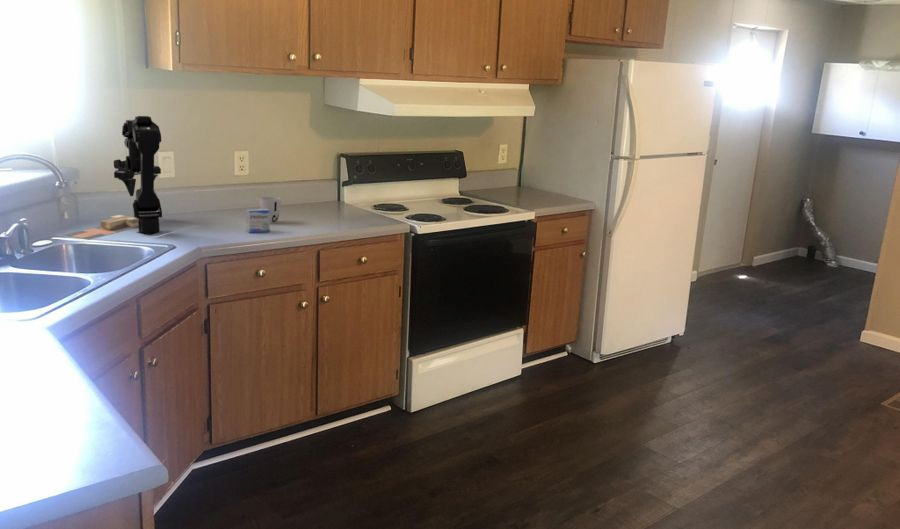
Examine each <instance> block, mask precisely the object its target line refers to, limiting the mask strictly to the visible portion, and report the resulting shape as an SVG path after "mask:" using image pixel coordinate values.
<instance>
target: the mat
mask: <svg viewBox="0 0 900 529" xmlns="http://www.w3.org/2000/svg"><path fill="white" fill-rule="evenodd" d="M132 229H139V226H138V227H134V228H131V227H123V228H119V229H115V230H111V231H108V230H101V225H100V226H95V227H92V228H91V227H90V228H87V229H83V230H79V231H78V230H77V231H74V232H70V233H66V234H62V236H63V237H68V238H76V239H80V240H81V239H82V240H87V241H89V240H94V239H99V238H101V237H105V236H110V235H114V234H117V233H121V232H125V231H130V230H132Z"/></svg>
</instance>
